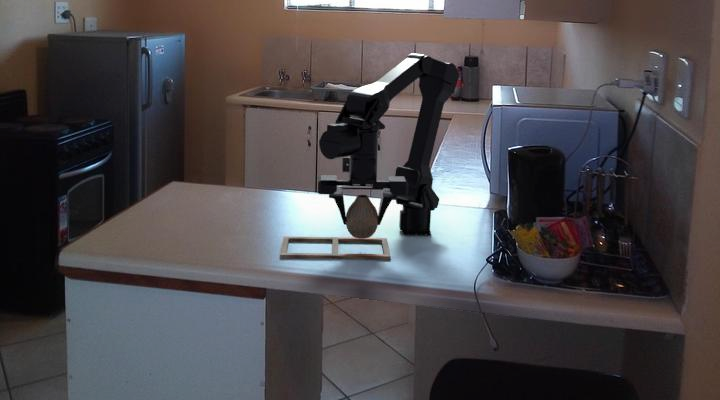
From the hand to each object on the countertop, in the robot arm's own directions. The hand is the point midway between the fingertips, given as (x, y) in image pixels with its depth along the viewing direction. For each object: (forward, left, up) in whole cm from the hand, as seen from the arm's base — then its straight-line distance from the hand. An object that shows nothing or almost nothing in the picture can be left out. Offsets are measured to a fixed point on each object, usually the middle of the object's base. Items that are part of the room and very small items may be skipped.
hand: (361, 224), depth 162 cm
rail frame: (+6, 0, -6) cm, 8 cm away
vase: (0, 0, -3) cm, 3 cm away
